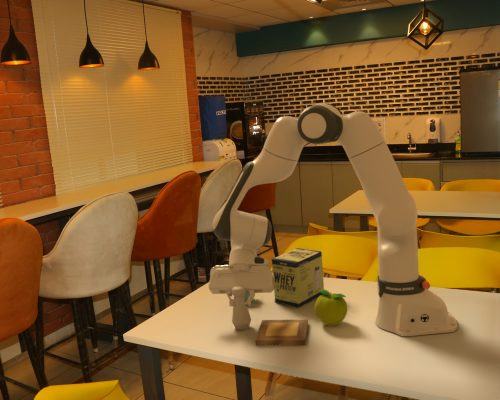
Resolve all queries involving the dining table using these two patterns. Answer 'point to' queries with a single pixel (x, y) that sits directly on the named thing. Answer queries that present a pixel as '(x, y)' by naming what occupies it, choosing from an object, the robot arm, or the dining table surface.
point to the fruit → (331, 308)
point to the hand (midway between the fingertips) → (239, 305)
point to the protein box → (298, 277)
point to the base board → (282, 332)
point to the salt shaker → (240, 309)
